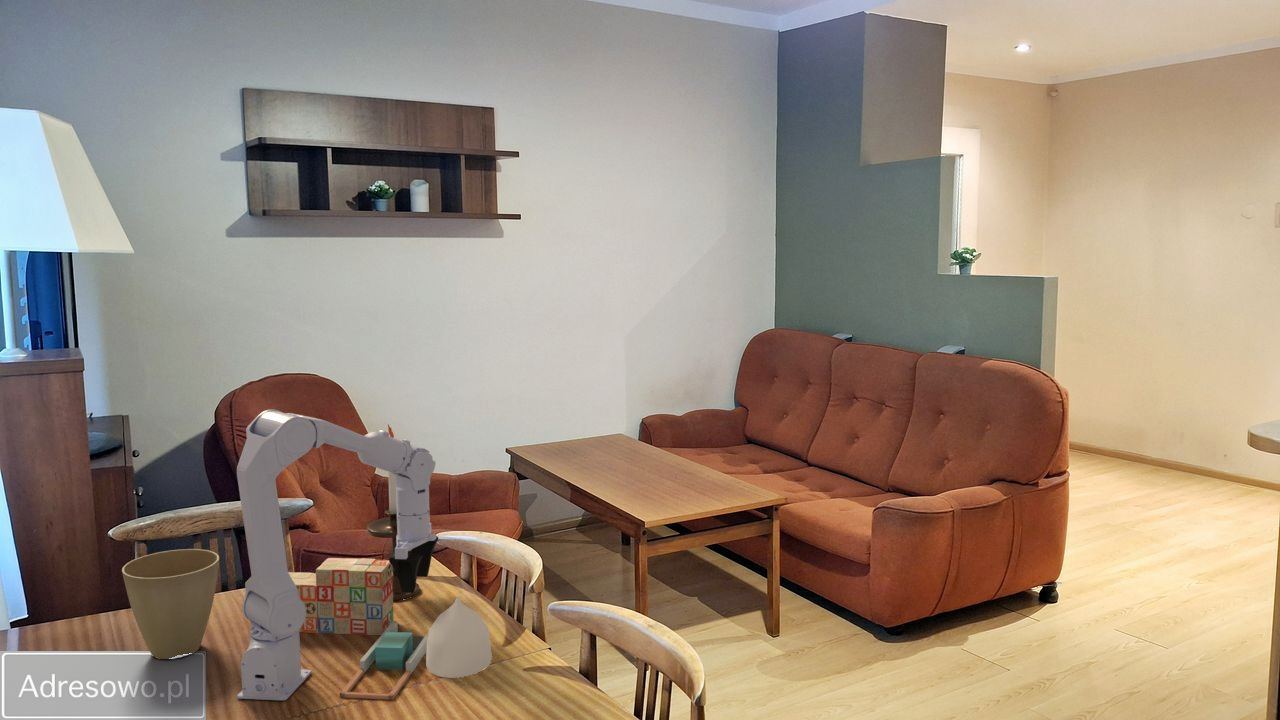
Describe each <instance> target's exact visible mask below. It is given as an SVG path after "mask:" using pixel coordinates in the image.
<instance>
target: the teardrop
mask: <svg viewBox="0 0 1280 720" xmlns="http://www.w3.org/2000/svg"><path fill="white" fill-rule="evenodd" d="M429 630H430V631H429ZM429 630H428V631H429V634H428V637H427V652H426V653H425V655H426V656H425V657H426V658H425V667H426V668H427V671H428V672H429V673H430V674H433V675H435V676H438V677H439V678H448V679H457V678H459V677H462V678H465V677H464V676H466V677H469V676H468V675H471V676H473V675H472V674H476V673H477V672H479V671H481V670H483V669H484V668H487V667H488V666H489V664H490V663H491V664H492V662H491V660H492V661H493V654H492V645H491V644H492V643H491V642H492V641H491V633H490V630H489V627H488V625H487V624H486V623H485V621H484V620H483V618H482V617H481V616H480V615H479V614H478V613H477V612H475V611H474V610H473V609H471V608H470V607H468V606H467V605H465V604H464V603H463V602H462V601H461V598H460V597H459V596H458V595H457V597H456V598H455V600H454V602H453V604H452V605H450V606H449V607H448V608H447V609H446V610H444V611H443V612H441V613H440V614H439V615H438V616H437V618H436V619H435V621H434V622H433V623H432V624H431V626H430V628H429ZM489 667H490V666H489ZM489 667H488V668H489ZM488 668H487V669H488ZM476 675H477V674H476ZM456 677H457V678H456ZM459 679H460V678H459Z"/></svg>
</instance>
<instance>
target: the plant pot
mask: <svg viewBox="0 0 1280 720" xmlns="http://www.w3.org/2000/svg"><path fill="white" fill-rule="evenodd" d="M219 564H220V555H218V553H216V552H214V551H211V550H208V549H199V548H187V549H186V548H185V549H184V548H183V549H173V550H172V549H171V550H165V551H159V552H154V553H150V554H147V555H143V556H141V557H138V558H135V559H132V560H130V561H129V562H127V563H126V564H125V565H124V566H122V569H121V572H122V576H123V581H124V586H125V590H126V594H127V598H128V601H129V605H130V609H131V611H132V613H133V616H134V619H135V621H136V624H137V628H138V629H139V632H140V634H141V635H142V638H143V640H144V642H145V645H146V646H147V648H148V650H149V652H150V654H151V655H153V656H155V657H157V658H158V659H157V660H160V659H169V658H172V657H175V656H177V655H183V654H189V653H193V652H195V653H196V652H197V651H198V650H199V649H200V647H201V644H202V640H203V638H204V635H205V632H206V629H207V626H208V623H209V619H210V615H211V613H212V607H213V603H214V599H215V594H216V589H217V582H218V573H219V566H220V565H219ZM193 654H194V653H193ZM153 656H152V657H153Z"/></svg>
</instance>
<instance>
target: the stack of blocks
mask: <svg viewBox="0 0 1280 720" xmlns="http://www.w3.org/2000/svg"><path fill="white" fill-rule="evenodd" d="M288 573H289V575H290V577H291V578H292V580H293V582H294V583H295V585H296V587H297V591H298V596H299V598H300V600H301V601H302V602H303V603H304V605H305V607H306V618H305V621H304V623H303V625H302V626H301V628H300V629H299V633H306V634H308V633H311V634H313V633H314V634H318V633H319V634H340V635H341V634H346V635H367V636H369V635H370V636H374V635H375V636H381V635H382V634H383V632H384V631H385V630H386V629H387V628H388V627H389V625H390V624H391V623H392V622H393V621H395V620H394V602H393V572H392V565H391V563H390V562H389V559H376V558H364V557H363V558H350V557H349V558H347V557H346V558H341V557H339V558H338V557H328V558H326V559H325V560H324V561H323V562H322V563H321V565H320V566H318V567H317V568H316V569H315V573H314V572H295V571H293V572H291V571H288Z"/></svg>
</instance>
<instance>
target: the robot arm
mask: <svg viewBox="0 0 1280 720" xmlns="http://www.w3.org/2000/svg"><path fill="white" fill-rule="evenodd" d="M245 432H246V434H245V435H246V440H245V443H244V446H243V448H242V452H241V455H240V458H239V460H238V464H237V466H236V478H237V484H238V491H239V498H240V504H241V505H240V507H241V512H242V518H243V525H244V526H243V527H244V532H245V540H246V546H247V554H248V555H247V556H248V560H249V567H250V574H251V575H250V577H249V578H248V580H247V581H245V583H244V588H245V595H244V598H243V601H242V605H241V606H242V609H241V610H242V613H243V616H244V617H245V618H246V619H247V620H248V621H250V641H249V645H248V647H247V650H245V651H244V653H243V655H242V657H241V660H240V670H241V672H240V673H241V687H242V688H241V689H242V690H241V691H240V692H239V693H237V695H236V696H237V697H236V698H237V699H239V700H241V699H244V700H266V701H286V700H288V699H289V698H290V697H291V696H292V694H293V693H295V691H296V690H297V689H298V688H299V687H300V686H301V685H302V684H303V683H304V681H305V680H306V679H307V678H308V677H309V676H310V675H311V674H312V670H310V669H301V668H302V667H301V666H302V665H301V644H300V641H301V640H300V632H299V629H300V628H301V626H302V625H303V623H304V621H305V618H306V607H305V605H304V603H303V602H302V601H301V600H300V598H299V596H298V591H297V587H296V585H295V583H294V582H293V580H292V578H291V577H290V575H289V573H288V572H289V570H288V562H287V557H286V556H287V555H286V547H285V539H284V534H283V527H282V518H281V512H280V511H281V510H280V505H279V496H278V489H277V481H276V480H277V477H278V476H279V475H280V474H281V472H282V471H283V470H285V469H286V468H287V467H288V466H289V467H290V465H292V464H293V463H294V462H296V461H297V460H298V459H300V458H302V457H303V456H304V455H306V454H307V453H309V451H311V449H312V448H314V449H319V448H320V447H321V446H322V445H324V444H327V445H331V446H333V447H337V448H340V449H344V450H346V451H350V452H354V453H357V456H358V459H359V461H360V462H361V463H362V464H364V465H367V466H371V467H373V468H376V469H380V470H383V471H385V472H391V473H393V474H398V475H396V501H397V536H396V541H397V546H396V548H395V553H392V552H391V553H390V554H389V555H388V560H389V562H390V563H391V565H392V566H393V568H394V570H395V572H396V574H397V577H398V580H399V584H400V587H401V590H402V592H403V593H414V591H415V587H416V583H417V580H418V579H417V577H419V578H427V577H428V575H429V572H430V567H431V563H432V556H433V553H434V550H435V548H436V545H437V543H438V541H439V536H438V535H437V534H436V533H432V529H433V528H432V522H431V520H430V518H431V517H430V515H431V513H430V485H431V476H432V475H433V472H434V471H435V468H436V460H433V456H432V453H430V451H429V450H428V449H426V448H425V447H424V448H423V447H420V446H417V445H413V444H412V445H411V441H410V440H408V439H405V438H404V439H402V440H400V439H397V438H395V437H394V438H392V437H390V433H389V431H386V430H385V431H384V430H382V429H380V430H378V431H372V432H368V433H367V434H366V433H365V434H364V435H363V434H360V433H358V432H355V431H353V430H351V429H348V428H345V427H342V426H340V425H338V424H336V423H335V424H334V423H332V422H330V421H327V420H324V419H321V418H316V417H312V416H306V415H302V414H296V413H292V412H287V413H285V412H282V411H281V410H277V409H267V410H264V411H262V412H261V413H259V414H258V415H257V416H255V418H254V419H253V420H252V421H251V422H250V423H249V424H248V426H247V427H246V429H245Z"/></svg>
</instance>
